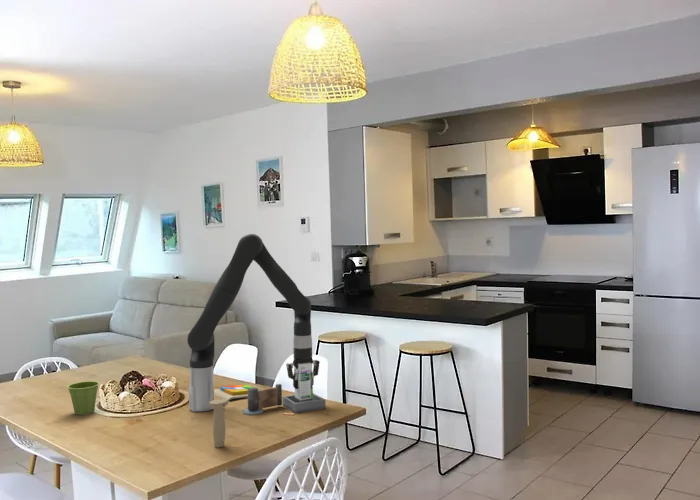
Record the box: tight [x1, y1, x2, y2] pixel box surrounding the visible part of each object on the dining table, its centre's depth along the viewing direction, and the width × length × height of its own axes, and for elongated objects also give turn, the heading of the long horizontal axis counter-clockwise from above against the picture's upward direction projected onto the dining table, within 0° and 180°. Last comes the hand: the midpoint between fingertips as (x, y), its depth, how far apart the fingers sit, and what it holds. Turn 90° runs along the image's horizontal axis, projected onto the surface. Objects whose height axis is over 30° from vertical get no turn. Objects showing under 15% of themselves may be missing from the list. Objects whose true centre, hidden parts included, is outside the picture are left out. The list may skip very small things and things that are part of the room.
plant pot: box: [66, 380, 100, 416], centre depth 242 cm, size 12×12×11 cm
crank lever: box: [247, 383, 283, 411], centre depth 244 cm, size 14×4×8 cm, turn 123°
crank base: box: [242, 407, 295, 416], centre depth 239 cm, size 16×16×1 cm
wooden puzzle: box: [214, 383, 264, 402], centre depth 268 cm, size 18×19×4 cm
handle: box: [209, 398, 229, 448], centre depth 202 cm, size 5×6×15 cm
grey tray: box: [282, 392, 326, 414], centre depth 247 cm, size 13×13×4 cm
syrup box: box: [293, 362, 314, 401], centre depth 247 cm, size 6×6×14 cm
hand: (303, 387), depth 247 cm, fingers closed on syrup box, 5 cm apart
